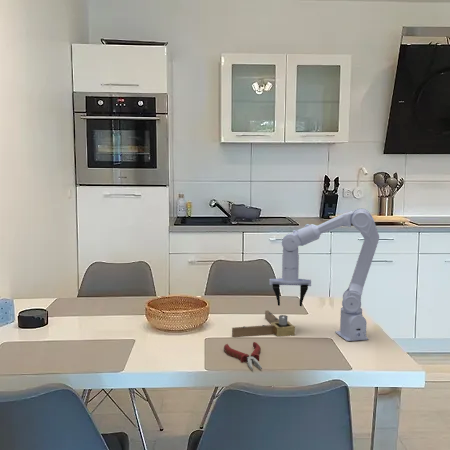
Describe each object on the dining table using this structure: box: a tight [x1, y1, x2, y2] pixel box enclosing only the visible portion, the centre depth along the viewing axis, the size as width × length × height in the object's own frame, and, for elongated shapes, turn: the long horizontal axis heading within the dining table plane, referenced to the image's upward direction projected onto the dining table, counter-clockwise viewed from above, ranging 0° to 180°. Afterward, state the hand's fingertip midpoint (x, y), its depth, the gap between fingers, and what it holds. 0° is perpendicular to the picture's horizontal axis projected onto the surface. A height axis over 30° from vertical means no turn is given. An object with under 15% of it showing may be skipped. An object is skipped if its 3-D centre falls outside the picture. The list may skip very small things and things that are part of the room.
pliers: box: [223, 341, 263, 371], centre depth 165 cm, size 12×20×3 cm, turn 13°
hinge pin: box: [278, 314, 288, 327], centre depth 190 cm, size 3×3×6 cm
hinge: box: [231, 310, 296, 338], centre depth 195 cm, size 22×22×3 cm
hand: (289, 305), depth 191 cm, fingers open, 7 cm apart
